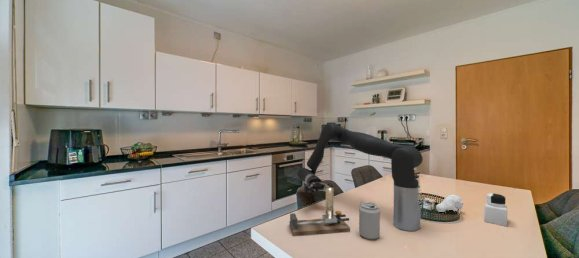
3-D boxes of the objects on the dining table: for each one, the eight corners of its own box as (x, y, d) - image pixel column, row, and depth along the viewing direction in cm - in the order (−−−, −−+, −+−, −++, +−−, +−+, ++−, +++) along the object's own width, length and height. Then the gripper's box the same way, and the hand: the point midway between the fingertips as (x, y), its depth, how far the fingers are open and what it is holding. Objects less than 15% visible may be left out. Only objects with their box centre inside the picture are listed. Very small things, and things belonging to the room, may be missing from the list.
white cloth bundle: (464, 196, 105) (441, 199, 103) (465, 213, 105) (443, 217, 103) (452, 192, 111) (431, 195, 109) (454, 208, 111) (432, 212, 110)
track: (340, 220, 98) (340, 207, 98) (350, 231, 88) (350, 216, 88) (289, 224, 95) (289, 210, 94) (293, 236, 85) (293, 220, 85)
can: (377, 242, 80) (377, 209, 80) (356, 237, 84) (356, 205, 84) (381, 234, 86) (381, 203, 86) (361, 229, 90) (361, 200, 90)
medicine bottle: (506, 221, 97) (507, 194, 97) (507, 226, 92) (507, 198, 92) (484, 216, 102) (485, 191, 102) (484, 221, 97) (484, 194, 97)
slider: (344, 217, 95) (345, 185, 95) (349, 221, 91) (349, 188, 91) (322, 218, 94) (322, 186, 94) (325, 223, 89) (325, 189, 89)
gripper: (300, 175, 117) (307, 184, 101) (326, 175, 120) (337, 183, 104) (300, 189, 118) (307, 200, 102) (325, 188, 120) (336, 199, 104)
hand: (322, 191), depth 103 cm, fingers open, 8 cm apart
